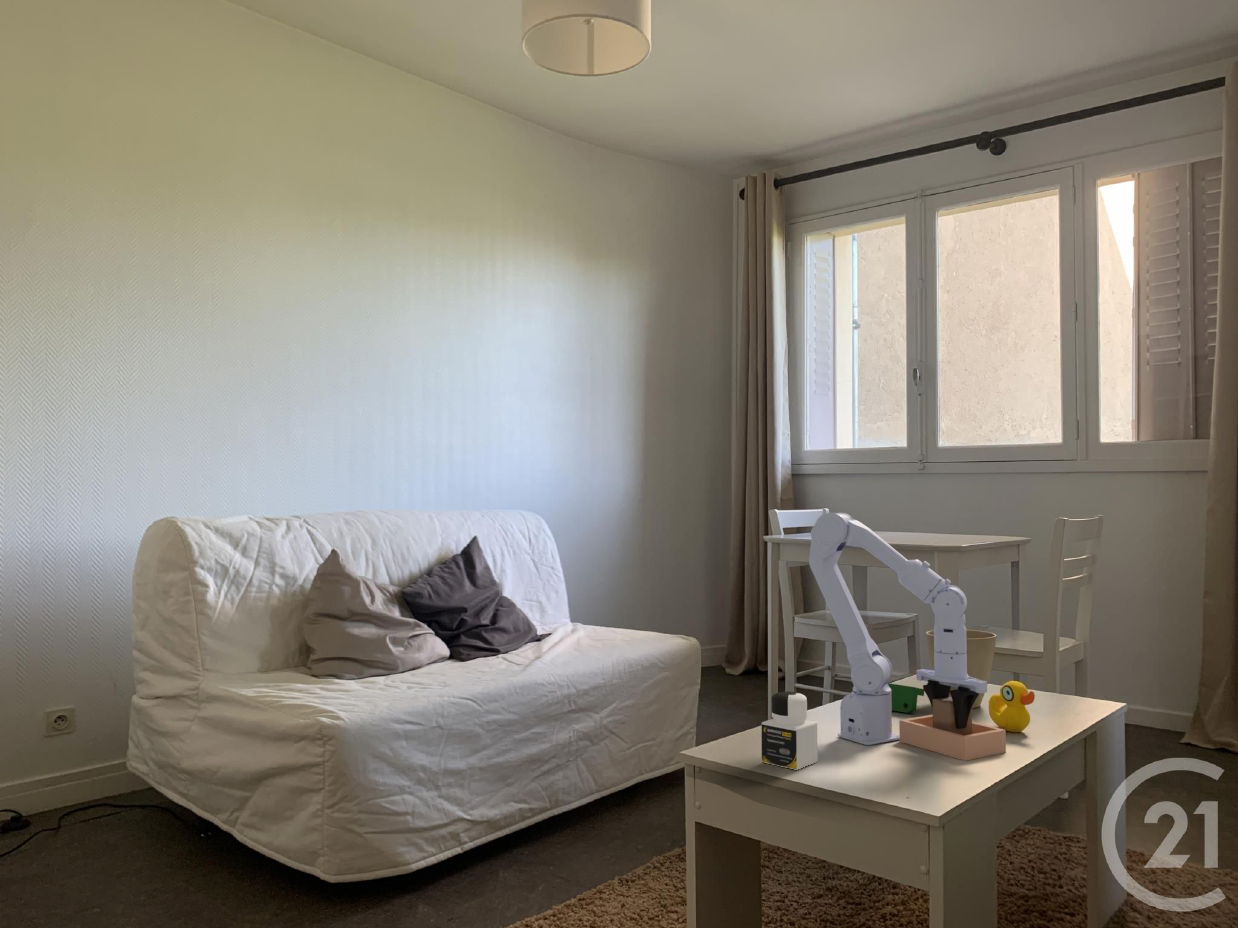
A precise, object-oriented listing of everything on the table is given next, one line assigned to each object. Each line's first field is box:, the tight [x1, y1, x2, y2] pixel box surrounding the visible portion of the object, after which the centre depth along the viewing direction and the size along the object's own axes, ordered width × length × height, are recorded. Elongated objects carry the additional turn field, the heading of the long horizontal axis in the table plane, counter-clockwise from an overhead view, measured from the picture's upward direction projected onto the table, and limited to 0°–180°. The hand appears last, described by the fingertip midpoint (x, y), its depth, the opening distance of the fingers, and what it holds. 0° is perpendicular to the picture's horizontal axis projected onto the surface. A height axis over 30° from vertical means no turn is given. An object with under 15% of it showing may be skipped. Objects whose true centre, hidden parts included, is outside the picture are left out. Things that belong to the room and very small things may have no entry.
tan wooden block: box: [932, 697, 973, 736], centre depth 170 cm, size 6×4×7 cm, turn 121°
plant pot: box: [925, 629, 997, 709], centre depth 206 cm, size 15×15×16 cm
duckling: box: [988, 680, 1036, 733], centre depth 182 cm, size 11×5×10 cm, turn 19°
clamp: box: [887, 682, 925, 714], centre depth 202 cm, size 12×6×9 cm, turn 38°
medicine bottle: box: [761, 691, 819, 771], centre depth 160 cm, size 7×7×12 cm
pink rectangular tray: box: [898, 714, 1007, 761], centre depth 170 cm, size 11×15×4 cm
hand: (951, 725), depth 170 cm, fingers closed on tan wooden block, 4 cm apart
